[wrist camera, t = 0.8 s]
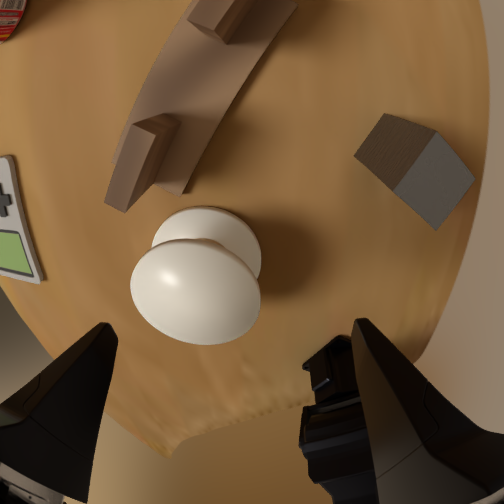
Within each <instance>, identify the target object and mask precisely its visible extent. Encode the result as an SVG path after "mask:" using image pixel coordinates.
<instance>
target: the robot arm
mask: <svg viewBox="0 0 504 504" xmlns="http://www.w3.org/2000/svg"><path fill="white" fill-rule="evenodd" d="M117 346H118V337H117V335H116V333H115V331H114V329H113V328H112V326H111V324H110V323H105V322H100V323H99V324H97V325H96V326H95V327H94V328H92V329H91V330H90V331H89V332H88V333H86V334H85V335H84V336H83V337H81V338H80V339H79V340H78V341H77V342H75V343H74V344H73V345H72V346H71V347H69V348H68V349H67V350H66V351H65V352H63V353H62V354H61V355H60V356H59V357H58V358H56V359H55V360H54V361H53V362H52V363H51V364H49V365H48V366H47V367H46V368H45V369H44V370H42V371H41V373H39V374H38V375H37V376H36V377H34V378H33V379H32V380H31V381H30V382H28V383H27V384H26V385H25V386H24V387H22V388H21V389H20V390H18V391H17V392H16V393H14V394H13V395H12V396H10V397H9V398H8V399H6V400H5V401H4V402H2V403H1V404H0V504H66V502H64V501H63V500H64V496H67V497H70V498H72V499H75V500H77V501H80V502H83V503H86V504H87V501H88V493H89V486H90V478H91V472H92V466H93V459H94V453H95V448H96V443H97V438H98V433H99V428H100V424H101V419H102V415H103V410H104V406H105V402H106V398H107V394H108V390H109V386H110V382H111V378H112V374H113V369H114V363H115V357H116V351H117ZM302 369H303V370H306V371H309V372H310V376H311V386H312V391H314V393H315V402H316V404H315V405H312V406H304V407H303V413H302V418H301V427H300V436H299V448H301V449H302V452H303V455H304V457H305V458H306V459H307V460H308V475H309V477H310V478H311V479H312V481H313V482H314V483H315V484H318V483H319V484H320V485H321V486H322V487H323V488H324V489H325V490H326V491H327V492H328V493H329V494H330V495H331V496H332V500H333V504H504V434H500V433H494V432H490V431H487V430H484V429H482V428H480V427H479V426H477V425H476V424H475V423H473V422H472V421H471V420H470V419H469V418H468V417H467V416H465V415H464V414H463V413H462V412H461V411H460V410H458V409H457V408H456V407H455V406H454V405H453V404H451V403H450V402H449V401H448V400H447V399H446V398H445V397H444V396H443V395H442V394H441V393H440V392H439V391H438V390H437V389H436V388H435V387H434V386H433V385H432V384H431V383H430V382H429V381H428V380H427V379H426V378H425V377H424V376H423V375H422V373H421V372H420V371H419V370H418V369H417V368H416V367H415V366H414V365H413V364H412V363H411V362H410V361H409V360H408V359H407V358H406V357H405V356H404V355H403V354H402V353H401V352H400V351H399V350H398V349H397V348H396V347H395V346H394V345H393V344H392V343H391V342H390V341H389V340H388V339H387V337H386V336H385V335H384V334H383V333H382V332H381V331H380V330H379V329H378V328H377V327H376V326H375V325H374V324H373V323H372V322H371V321H370V320H369V319H367V318H358V319H355V321H354V325H353V330H352V334H351V340H348V339H346V338H344V337H341V336H337V337H335V338H334V339H333V340H331V341H330V342H329V343H328V344H327V345H326V346H324V347H323V348H322V349H321V350H320V351H318V352H317V353H316V354H315V355H314V356H312V357H311V358H310V359H309V360H307V361H306V362H305V363H304V364H303V365H302Z"/></svg>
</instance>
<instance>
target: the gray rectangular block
mask: <svg viewBox="0 0 504 504" xmlns="http://www.w3.org/2000/svg"><path fill="white" fill-rule="evenodd" d="M354 157H355V158H357V159H358V160H359V161H360V162H361V163H362V164H363V165H365V166H366V167H367V168H368V169H369V170H370V171H371V172H372V173H373V174H375V175H376V176H377V177H378V178H379V179H380V180H381V181H382V182H383V183H384V184H385V185H386V186H387V187H388V188H389V189H391V190H392V191H393V192H394V193H395V194H396V195H397V196H398V197H400V198H401V199H402V200H403V201H404V202H405V203H406V204H408V205H409V206H410V207H411V208H412V209H413V210H414V211H415V212H417V213H418V214H419V215H420V216H421V217H422V218H423V219H424V220H425V221H426V222H427V223H428V224H429V225H430V226H431V227H432V228H434V229H435V230H437V229H438V228H439V226H440V225H441V224H442V223H443V222H444V220H445V219H446V218H447V217H448V215H449V214H450V213H451V211H452V210H453V209H454V208H455V206H456V205H457V204H458V202H459V201H460V200H461V198H462V197H463V196H464V194H465V193H466V192H467V190H468V189H469V187H470V186H471V185H472V183H473V182H474V180H475V177H474V176H473V175H472V173H471V172H470V171H469V169H468V168H467V167H466V165H465V164H464V163H463V162H462V160H461V159H460V158H459V157H458V155H457V154H456V153H455V152H454V150H453V149H452V148H451V147H450V146H449V145H448V143H447V142H446V141H445V140H444V139H443V138H442V137H441V135H440V134H439V133H438V132H437V131H435V130H432V129H429V128H427V127H424V126H421V125H419V124H416V123H413V122H410V121H407V120H404V119H401V118H398V117H395V116H392V115H388V114H385V113H384V114H383V116H382V117H381V118H380V120H379V121H378V123H377V124H376V125H375V127H374V128H373V130H372V131H371V132H370V134H369V135H368V137H367V138H366V139H365V141H364V142H363V143H362V145H361V146H360V148H359V149H358V150H357V152H356V153H355V154H354Z"/></svg>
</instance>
